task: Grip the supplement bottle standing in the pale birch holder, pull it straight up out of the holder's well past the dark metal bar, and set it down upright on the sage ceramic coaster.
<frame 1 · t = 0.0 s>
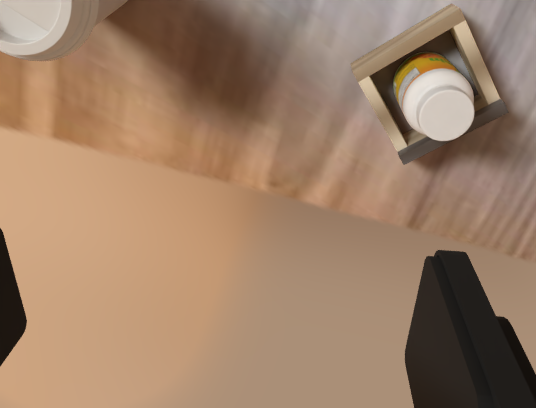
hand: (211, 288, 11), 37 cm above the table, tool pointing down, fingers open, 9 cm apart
supplement bottle: (422, 80, 45), resting in can holder
can holder: (422, 80, 45), on the table
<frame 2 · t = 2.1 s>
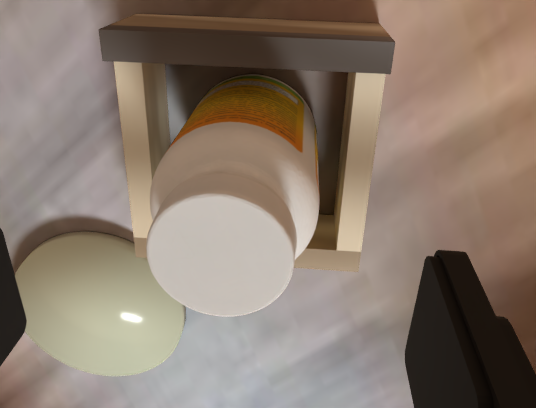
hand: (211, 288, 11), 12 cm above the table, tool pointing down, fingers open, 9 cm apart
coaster: (102, 303, 27), on the table
supplement bottle: (255, 132, 22), resting in can holder
can holder: (254, 134, 22), on the table
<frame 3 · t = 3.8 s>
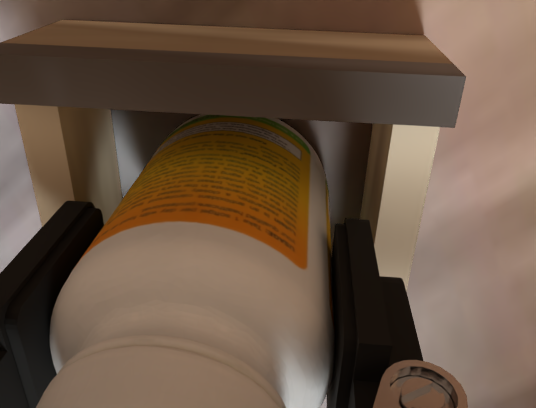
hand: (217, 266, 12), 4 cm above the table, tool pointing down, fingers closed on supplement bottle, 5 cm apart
supplement bottle: (240, 185, 16), resting in can holder, touching gripper
can holder: (239, 189, 15), on the table
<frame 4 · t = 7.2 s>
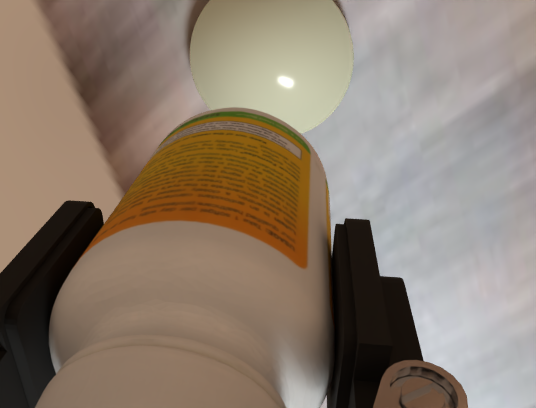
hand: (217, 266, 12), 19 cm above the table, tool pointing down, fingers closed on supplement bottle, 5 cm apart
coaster: (271, 59, 28), on the table
supplement bottle: (240, 185, 15), point 15 cm above the table, touching gripper
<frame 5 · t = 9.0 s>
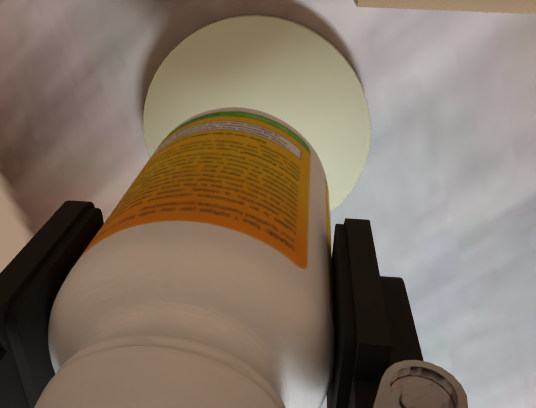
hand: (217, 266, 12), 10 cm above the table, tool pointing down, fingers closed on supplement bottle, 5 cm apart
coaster: (257, 130, 20), on the table
supplement bottle: (240, 185, 15), point 6 cm above the table, touching gripper
when the fingers open (6 cm above the table, at t = 10.6 s): supplement bottle drops 1 cm, resting on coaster.
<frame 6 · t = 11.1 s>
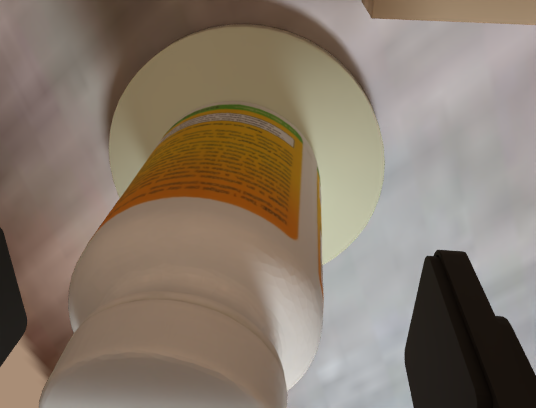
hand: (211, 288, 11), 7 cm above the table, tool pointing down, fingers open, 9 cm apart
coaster: (247, 162, 17), on the table
supplement bottle: (238, 174, 17), point 1 cm above the table, touching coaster
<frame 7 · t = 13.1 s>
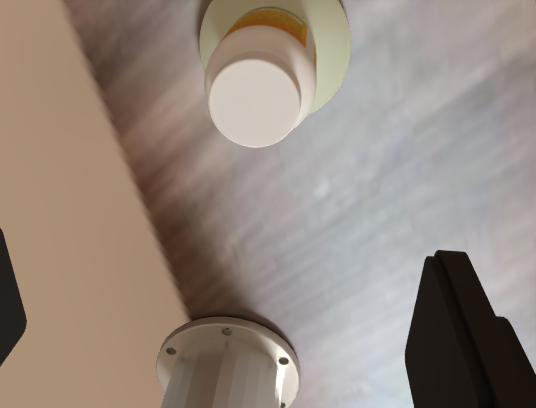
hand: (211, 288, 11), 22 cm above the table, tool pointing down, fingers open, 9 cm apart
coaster: (275, 47, 30), on the table
supplement bottle: (271, 52, 30), point 1 cm above the table, touching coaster
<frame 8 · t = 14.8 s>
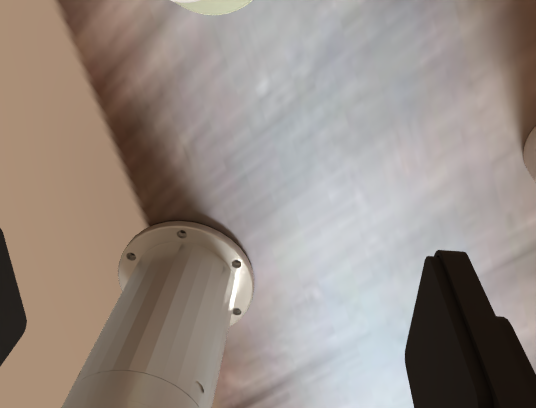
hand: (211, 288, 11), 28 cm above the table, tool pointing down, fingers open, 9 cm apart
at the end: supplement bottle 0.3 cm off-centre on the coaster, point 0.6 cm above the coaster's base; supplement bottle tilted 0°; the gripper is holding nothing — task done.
